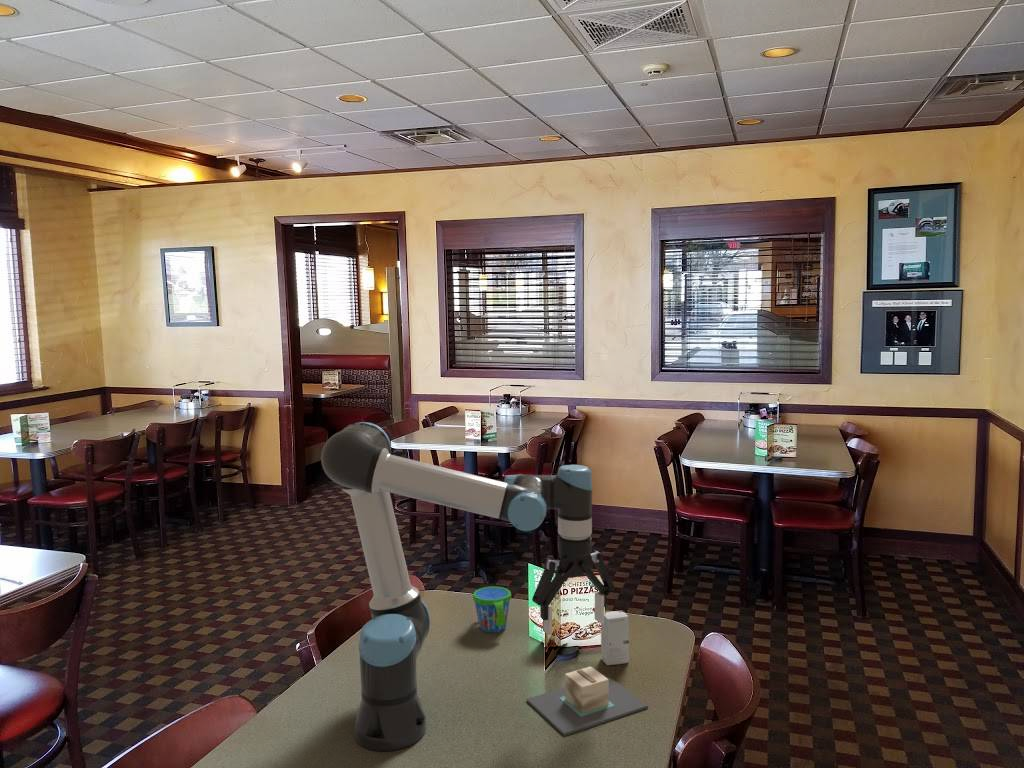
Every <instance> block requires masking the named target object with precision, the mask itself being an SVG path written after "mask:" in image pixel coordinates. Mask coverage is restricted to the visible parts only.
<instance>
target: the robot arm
mask: <svg viewBox="0 0 1024 768" xmlns="http://www.w3.org/2000/svg"><path fill="white" fill-rule="evenodd" d="M391 450H392V449H391V440H390V437H389V436H388V434H387V432H385V430H384V429H383V428H382V427H380V426H379V425H377V424H375V423H373V422H366V421H363V422H362V421H361V422H355V423H351V424H348V425H347V426H345V427H344V428H343V429H342V430H340V431H338V432H336V433H335V434H333V435H332V436H330V438H328V440H327V441H326V442H325V444H324V445H323V448H322V450H321V451H322V452H321V455H320V456H321V457H320V461H321V462H320V463H321V466H322V469H323V471H324V473H325V475H327V477H328V478H329V479H330V480H332V482H334V483H335V484H337V485H340V487H341V491H343V492H345V493H346V494H348V495H349V496H350V500H351V503H352V508H353V513H354V516H355V520H356V525H357V526H356V527H357V530H358V535H359V538H360V542H361V543H360V544H361V546H362V551H363V554H364V555H363V556H364V559H365V564H366V568H367V572H368V576H369V581H370V585H371V589H372V593H373V597H372V598H371V600H370V601H369V603H368V606H369V611H370V615H371V618H372V619H370V620H368V621H367V622H366V623H365V624H363V626H362V628H361V630H360V633H359V640H358V651H359V665H360V666H359V668H360V669H359V670H360V689H361V690H360V691H361V700H360V703H359V707H358V709H357V714H356V716H355V721H354V725H353V727H354V729H353V730H354V738H355V741H356V742H357V743H358V745H360V746H361V747H364V748H365V749H368V750H371V751H372V750H373V751H376V752H387V751H388V752H390V751H396V750H397V751H398V750H401V749H404V748H407V747H409V746H412V745H413V744H415V743H417V742H419V741H420V740H421V738H422V737H423V736H424V735H425V733H426V731H427V717H426V713H425V710H424V707H423V704H422V702H421V700H420V697H419V695H418V683H417V682H418V681H417V680H418V679H417V678H418V677H417V676H418V675H417V663H418V662H417V660H418V657H419V655H420V653H421V650H422V648H423V645H424V642H425V641H426V638H427V636H428V634H429V632H430V626H431V616H430V611H429V607H427V604H426V603H425V602H424V601H423V600H422V598H421V594H420V590H419V589H418V588H417V587H415V586H413V585H412V583H411V579H410V576H409V572H408V566H407V563H406V558H405V554H404V550H403V549H404V548H403V546H402V540H401V537H400V532H399V528H398V524H397V523H398V522H397V518H396V515H395V511H394V506H393V501H392V497H391V494H394V495H395V494H396V495H398V496H403V497H407V498H412V499H416V500H420V501H425V502H428V503H433V504H436V505H440V506H441V505H442V506H443V507H444V506H445V507H449V508H453V509H457V510H461V511H465V512H470V513H473V514H476V515H482V516H486V517H489V518H490V517H491V518H494V519H498V520H502V521H506V522H509V523H511V525H512V526H513V527H515V528H516V529H517V530H518V531H519V530H520V531H523V532H530V531H533V530H536V529H537V528H539V527H540V526H541V524H543V521H544V520H545V517H546V516H547V510H557V533H558V536H557V553H558V557H557V559H553V560H552V559H550V558H546V559H545V561H544V562H545V563H544V570H543V572H542V574H541V577H540V579H539V581H538V584H537V585H536V588H535V591H534V594H533V595H532V598H531V600H532V602H533V603H534V604H536V605H537V606H539V607H540V608H539V610H540V612H539V616H540V618H542V619H543V631H544V632H545V633H547V634H548V635H552V606H551V605H550V603H551V601H552V600H553V598H554V597H555V596H557V594H558V592H559V591H560V589H561V587H562V586H563V585H564V583H565V582H567V581H569V578H570V579H573V578H576V577H582V576H584V575H585V577H587V579H588V580H589V582H590V583H591V584H592V585H593V586H594V588H596V589H597V591H594V620H595V621H597V622H598V623H600V624H601V623H604V613H605V608H606V607H607V598H608V596H609V595H610V593H611V592H610V591H613V590H615V585H614V582H613V580H612V577H611V576H610V573H609V571H608V569H607V567H606V565H605V562H604V555H603V553H602V552H599V550H598V551H597V550H596V549H595V550H592V542H593V541H592V539H593V538H592V536H591V535H592V534H593V522H592V521H593V518H592V517H593V515H592V513H593V477H592V475H593V474H592V470H591V469H590V468H589V467H588V466H585V465H581V464H564V465H560V467H558V469H557V474H554V475H551V474H550V475H549V474H522V473H518V474H507V475H506V476H505V477H504V481H500V480H496V479H491V478H489V477H484V476H480V475H475V474H473V473H468V472H464V471H459V470H455V469H451V468H447V467H443V466H439V465H434V464H431V463H426V462H423V461H419V460H415V459H411V458H407V457H403V456H398V455H394V454H391V452H392V451H391ZM591 562H593V564H594V566H595V568H596V570H597V572H598V575H599V577H600V579H601V581H600V579H599V578H598V576H597V575H596V574H595V573H594V571H593V570H592V569H591V568H590V565H591Z"/></svg>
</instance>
